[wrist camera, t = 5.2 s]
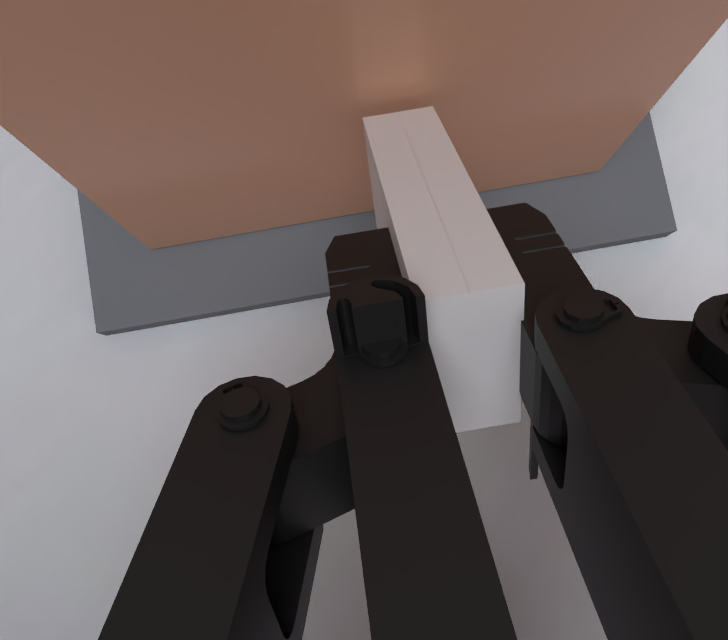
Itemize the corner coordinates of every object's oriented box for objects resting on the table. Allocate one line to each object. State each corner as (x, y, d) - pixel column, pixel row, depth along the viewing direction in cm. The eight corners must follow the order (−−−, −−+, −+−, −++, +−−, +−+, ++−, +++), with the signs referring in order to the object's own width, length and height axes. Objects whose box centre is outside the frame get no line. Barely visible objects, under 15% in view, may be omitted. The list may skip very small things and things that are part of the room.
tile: (599, 171, 21) (1007, -316, 8) (150, 249, 21) (-272, -101, 7) (580, 96, 22) (935, -494, 8) (140, 173, 22) (-277, -294, 8)
